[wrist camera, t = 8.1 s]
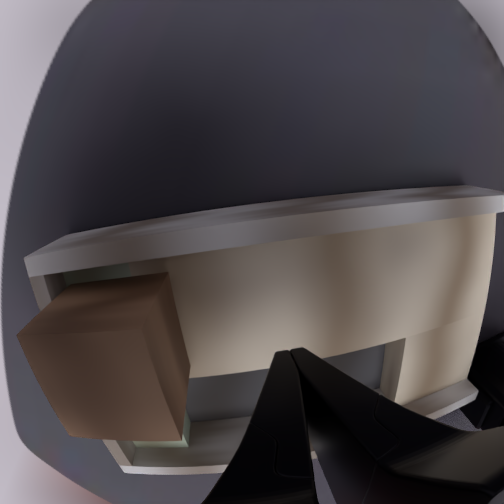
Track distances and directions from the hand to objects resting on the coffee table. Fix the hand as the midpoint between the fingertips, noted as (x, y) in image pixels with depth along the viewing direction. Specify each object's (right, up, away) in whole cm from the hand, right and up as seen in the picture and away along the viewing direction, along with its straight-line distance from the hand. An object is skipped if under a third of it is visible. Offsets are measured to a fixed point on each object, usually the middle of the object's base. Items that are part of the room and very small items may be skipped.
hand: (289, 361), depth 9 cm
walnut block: (-6, 0, +4) cm, 7 cm away
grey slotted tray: (+1, -1, +7) cm, 7 cm away
